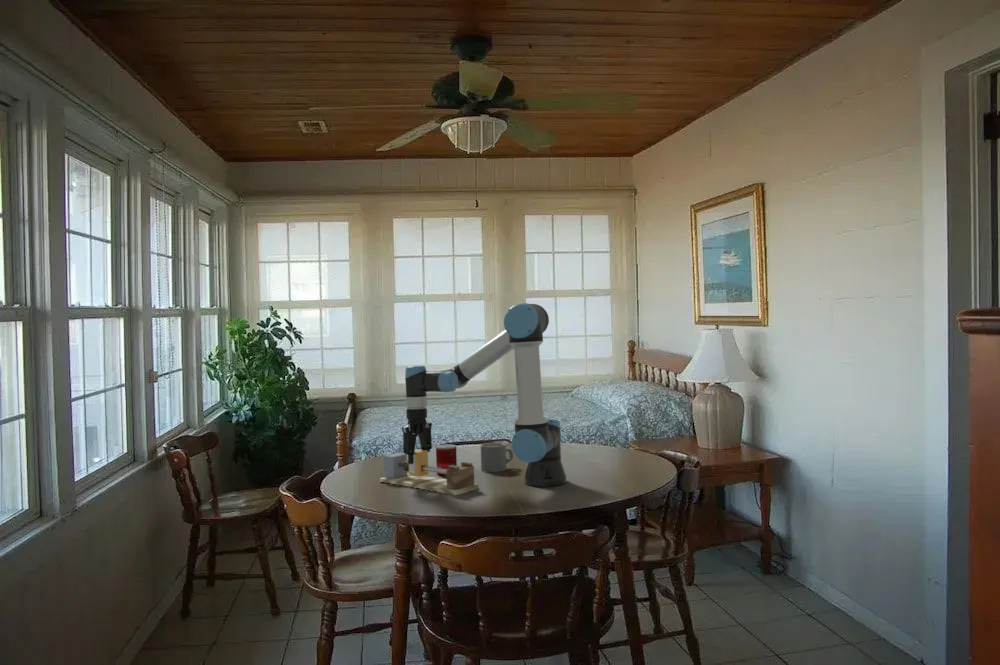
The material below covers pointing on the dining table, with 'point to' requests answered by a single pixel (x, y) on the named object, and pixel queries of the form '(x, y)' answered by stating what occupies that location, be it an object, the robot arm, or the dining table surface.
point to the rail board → (441, 480)
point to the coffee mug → (494, 457)
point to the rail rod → (423, 468)
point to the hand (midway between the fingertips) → (418, 470)
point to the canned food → (445, 456)
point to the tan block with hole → (420, 462)
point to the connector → (394, 465)
